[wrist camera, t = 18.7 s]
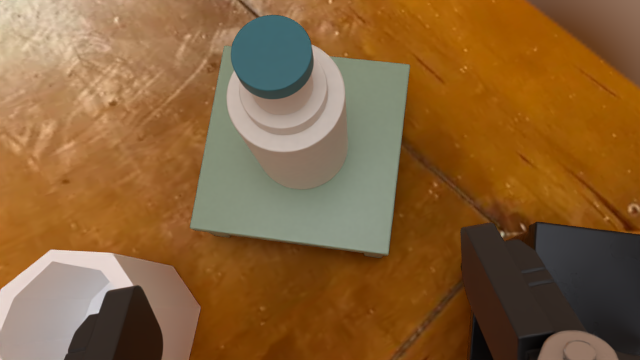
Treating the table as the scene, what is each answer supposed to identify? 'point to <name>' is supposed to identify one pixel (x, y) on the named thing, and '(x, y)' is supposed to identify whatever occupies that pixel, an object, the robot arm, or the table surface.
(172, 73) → the table surface
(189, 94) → the table surface
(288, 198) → the low green table
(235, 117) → the bottle
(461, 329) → the table surface
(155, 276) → the mug
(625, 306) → the black tiered rack
